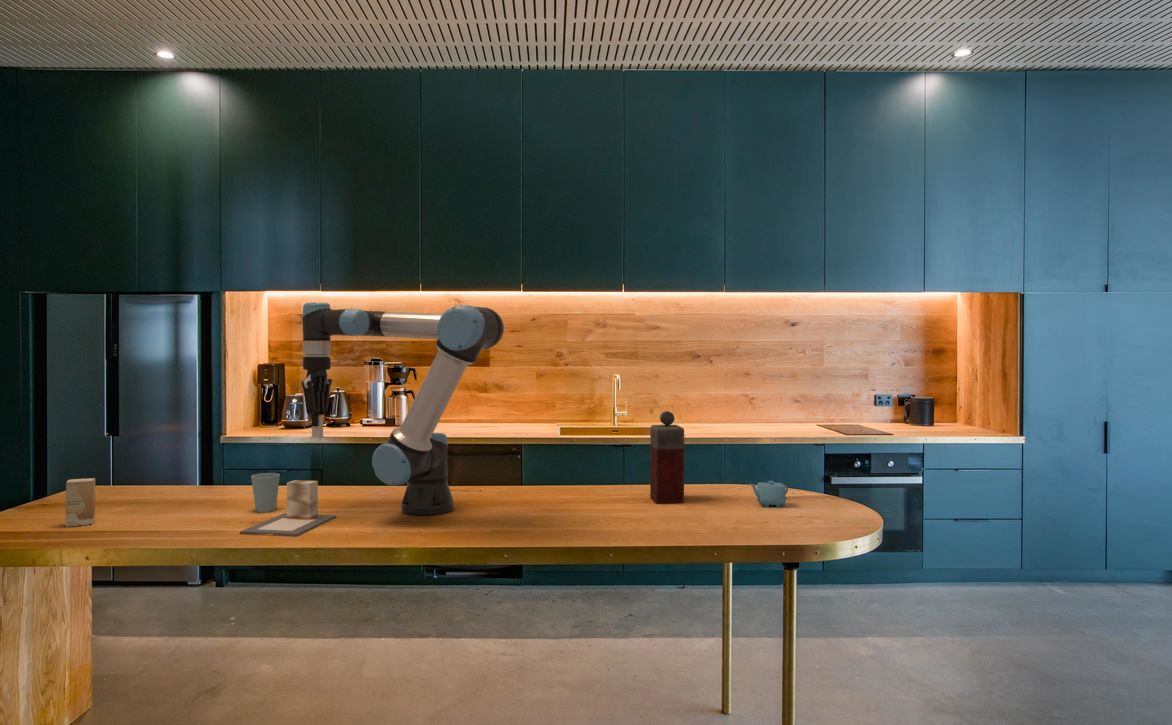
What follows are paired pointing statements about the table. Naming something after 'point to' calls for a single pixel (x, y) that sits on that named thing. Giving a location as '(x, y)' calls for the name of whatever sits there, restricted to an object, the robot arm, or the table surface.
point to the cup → (265, 491)
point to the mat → (287, 525)
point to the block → (302, 499)
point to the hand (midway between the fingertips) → (317, 437)
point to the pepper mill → (667, 461)
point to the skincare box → (80, 502)
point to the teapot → (770, 493)
